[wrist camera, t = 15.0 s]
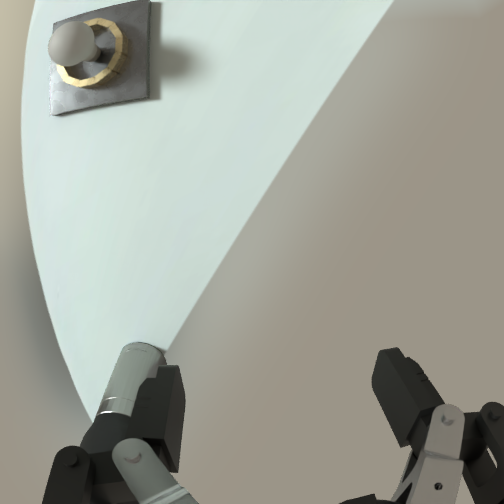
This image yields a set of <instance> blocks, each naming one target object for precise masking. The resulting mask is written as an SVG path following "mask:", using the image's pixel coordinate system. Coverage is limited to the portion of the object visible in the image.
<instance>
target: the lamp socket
mask: <svg viewBox="0 0 504 504" xmlns="http://www.w3.org/2000/svg"><path fill="white" fill-rule="evenodd" d="M150 10H151V1H150V0H137V1H132V2H127V3H122V4H118V5H113V6H109V7H105V8H101V9H97V10H94V11H90V12H87V13H83V14H80V15H77V16H74V17H70V18H67V19H64V20H61V21H59V22H56V23H54V25H53V33H54V32H55V30H56V29H57V28H59V27H60V26H61V25H63V24H65V23H68V22H72V21H80V22H84V23H86V24H87V25H89V26H90V27H91V29H92V31H93V33H94V42H95V43H96V45H97V46H98V47H99V48H100V50H101V54H100V56H99V58H98V59H97V60H96V61H94V62H88V61H85V62H84V61H82V62H80V63H78V64H76V65H73V66H61V65H58V64H56V63H55V62H54V61H52V59H51V61H50V116H56V115H60V114H64V113H68V112H72V111H77V110H81V109H86V108H91V107H96V106H101V105H106V104H112V103H118V102H124V101H130V100H137V99H144V98H149V34H150Z"/></svg>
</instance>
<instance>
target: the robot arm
mask: <svg viewBox="0 0 504 504" xmlns="http://www.w3.org/2000/svg"><path fill="white" fill-rule="evenodd" d="M372 388H373V391H374V393H375V395H376V397H377V399H378V401H379V403H380V405H381V407H382V409H383V411H384V414H385V416H386V418H387V420H388V422H389V424H390V426H391V428H392V430H393V432H394V435H395V437H396V439H397V441H398V443H399V445H400V447H405V446H408V445H410V446H411V448H412V450H411V452H410V454H409V457H408V460H407V463H406V466H405V469H404V472H403V475H402V477H401V480H400V483H399V485H398V488H397V490H396V492H395V493H394V495H393V497H392V498H391V500H390V501H387V500H376V497H375V494H370V495H367V496H363V497H359V498H355V499H350V500H346V501H344V502H342V503H340V504H455V501H456V497H457V493H458V489H459V485H460V480H461V475H462V474H463V477H464V480H465V482H466V484H467V486H468V489H469V491H470V493H471V496H472V498H473V500H474V503H475V504H504V406H503V405H501V404H500V403H497V402H488V403H486V404H485V405H484V406H483V407H482V409H481V410H480V412H471V413H463V412H462V411H461V410H460V409H459V408H458V407H456V406H454V405H451V404H445V403H444V401H443V400H442V398H441V396H440V395H439V393H438V392H437V390H436V389H435V387H434V386H433V385H432V383H431V382H430V380H428V377H427V376H426V374H424V371H423V370H422V368H421V367H420V366H419V364H418V363H416V362H415V361H414V360H412V359H411V358H410V357H407V358H405V357H404V355H403V354H402V352H401V351H400V349H399V348H397V347H396V348H391V349H384V350H380V351H379V353H378V356H377V360H376V364H375V368H374V372H373V375H372ZM184 413H185V391H184V387H183V383H182V378H181V374H180V369H179V366H178V365H167V363H166V360H165V357H164V356H163V354H162V353H161V352H160V351H159V350H158V349H156V348H155V347H153V346H151V345H148V344H145V343H131V344H128V345H126V346H125V347H124V348H123V349H122V351H121V353H120V356H119V358H118V360H117V363H116V365H115V367H114V370H113V372H112V375H111V377H110V380H109V382H108V385H107V388H106V390H105V393H104V395H103V398H102V401H101V403H100V406H99V409H98V412H97V414H96V417H95V420H94V422H93V424H92V426H91V427H90V428H89V430H88V431H87V432H86V434H85V436H84V437H83V440H82V442H81V444H80V447H78V446H68V447H65V448H63V449H61V450H60V451H59V452H58V453H57V454H56V456H55V459H54V462H53V465H52V468H51V472H50V475H49V479H48V482H47V486H46V490H45V494H44V498H43V501H42V504H199V503H198V502H197V501H196V500H195V499H194V498H193V497H192V496H191V494H190V493H189V492H188V491H187V490H186V489H185V488H184V487H181V486H180V485H179V483H178V482H177V481H176V480H175V479H174V477H173V476H172V475H171V474H170V472H173V473H178V469H179V459H180V449H181V440H182V430H183V421H184ZM487 448H489V449H490V450H491V452H492V454H493V456H494V458H495V460H496V462H497V468H496V466H495V464H494V462H493V460H492V459H491V457H490V455H489V453H488V451H487Z"/></svg>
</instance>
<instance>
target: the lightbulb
mask: <svg viewBox="0 0 504 504" xmlns="http://www.w3.org/2000/svg"><path fill="white" fill-rule="evenodd" d="M48 53H49V56H50V58H51V59H52V61H54V62H55V63H56V64H58V65H61V66H73V65H76V64H78V63H80V62H82V61H84V62H85V61H88V62H94V61H96V60H97V59H98V58H99V56H100V54H101V50H100V48H99V47H98V46H97V45H96V43H95V42H94V33H93V31H92V29H91V27H90V26H89V25H87V24H86V23H84V22H80V21H72V22H68V23H65V24H63V25H61V26H60V27H59V28H57V29H56V30H55V32H54V33H53V34H52V36H51V38H50V40H49V44H48Z"/></svg>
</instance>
